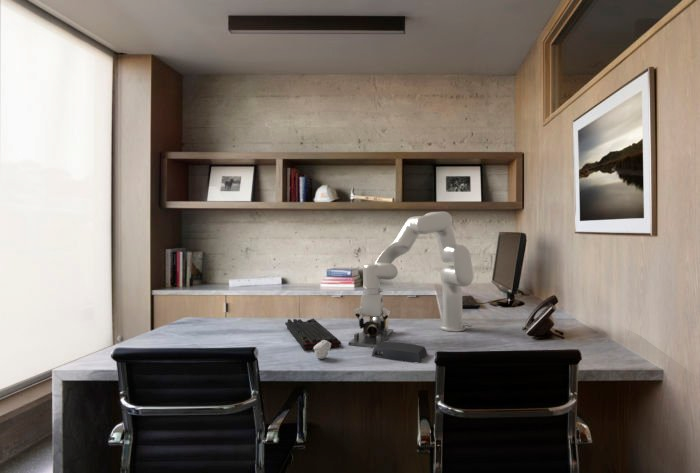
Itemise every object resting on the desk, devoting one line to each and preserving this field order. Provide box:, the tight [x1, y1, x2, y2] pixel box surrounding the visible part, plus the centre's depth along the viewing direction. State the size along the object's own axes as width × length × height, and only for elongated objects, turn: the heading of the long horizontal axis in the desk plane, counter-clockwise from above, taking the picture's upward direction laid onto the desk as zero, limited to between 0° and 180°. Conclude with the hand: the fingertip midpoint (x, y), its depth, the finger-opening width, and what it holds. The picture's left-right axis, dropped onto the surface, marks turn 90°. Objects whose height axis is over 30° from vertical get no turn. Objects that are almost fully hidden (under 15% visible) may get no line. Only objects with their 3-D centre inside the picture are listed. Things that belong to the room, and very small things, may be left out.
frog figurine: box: [313, 340, 332, 360], centre depth 153 cm, size 6×7×7 cm
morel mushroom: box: [362, 320, 378, 336], centre depth 179 cm, size 18×7×6 cm, turn 175°
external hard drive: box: [371, 340, 428, 364], centre depth 157 cm, size 13×19×4 cm
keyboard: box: [284, 317, 342, 352], centre depth 185 cm, size 42×16×5 cm, turn 19°
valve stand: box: [348, 314, 394, 349], centre depth 182 cm, size 13×29×11 cm, turn 160°
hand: (372, 328), depth 181 cm, fingers open, 9 cm apart
